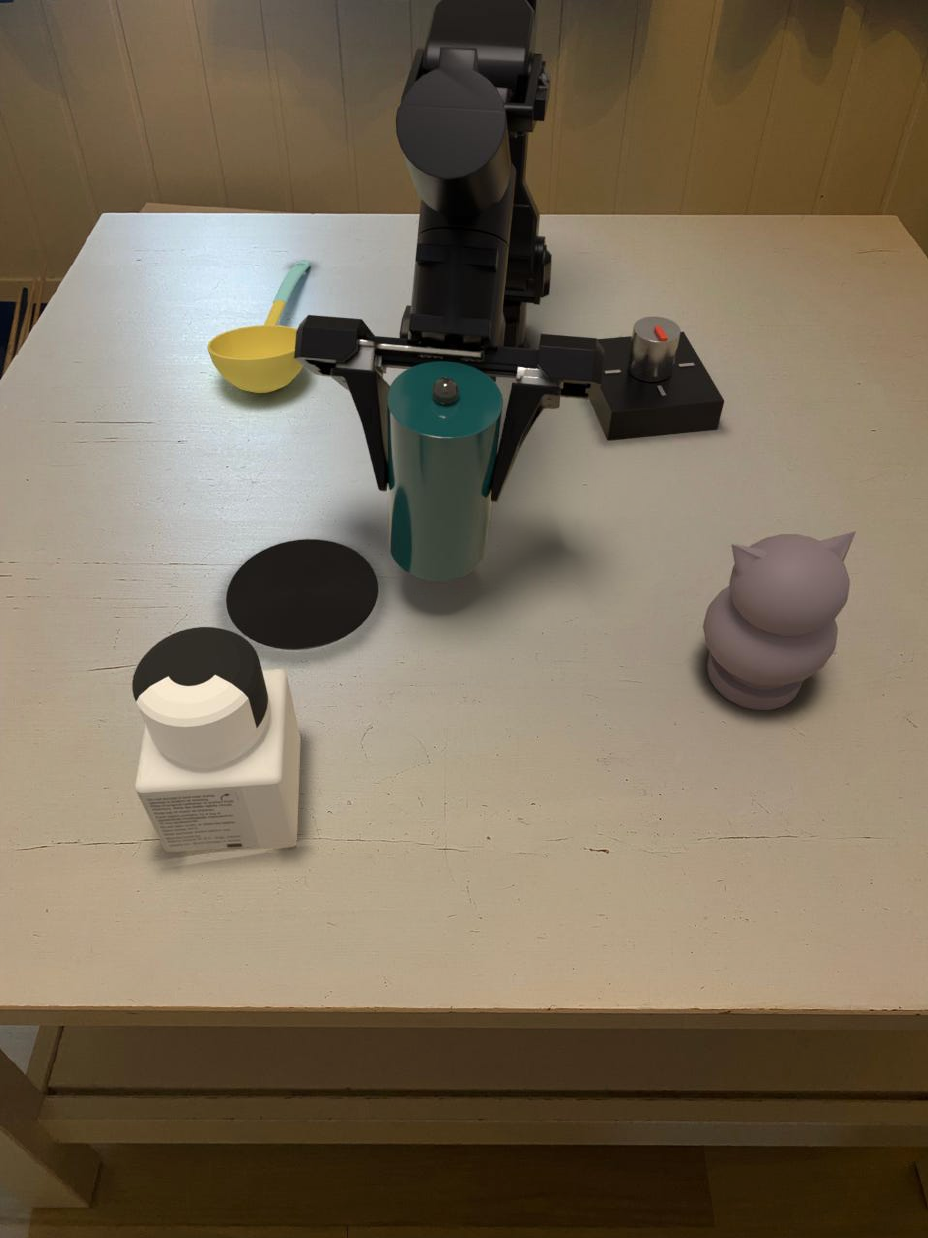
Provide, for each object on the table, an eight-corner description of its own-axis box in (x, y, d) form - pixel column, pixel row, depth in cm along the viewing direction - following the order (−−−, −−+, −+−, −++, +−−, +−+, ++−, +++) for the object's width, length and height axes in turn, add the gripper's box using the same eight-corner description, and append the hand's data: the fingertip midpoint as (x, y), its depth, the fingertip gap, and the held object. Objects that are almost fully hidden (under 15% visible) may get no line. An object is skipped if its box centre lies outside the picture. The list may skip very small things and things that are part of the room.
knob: (621, 358, 85) (628, 315, 81) (664, 354, 85) (672, 311, 82) (634, 384, 82) (642, 340, 79) (678, 379, 83) (687, 336, 79)
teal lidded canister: (374, 523, 66) (368, 358, 55) (461, 497, 68) (474, 332, 57) (412, 593, 63) (415, 433, 51) (502, 564, 65) (525, 402, 53)
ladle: (204, 408, 83) (191, 343, 79) (271, 312, 104) (263, 258, 101) (303, 408, 82) (294, 343, 79) (350, 312, 104) (345, 257, 100)
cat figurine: (711, 728, 62) (755, 605, 53) (675, 637, 67) (710, 511, 58) (834, 712, 63) (898, 589, 54) (790, 624, 68) (841, 498, 59)
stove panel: (576, 368, 89) (579, 338, 87) (678, 358, 90) (684, 329, 88) (607, 440, 82) (612, 410, 79) (717, 429, 83) (725, 399, 81)
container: (180, 748, 60) (128, 613, 51) (302, 740, 61) (273, 605, 51) (165, 858, 55) (104, 732, 46) (298, 849, 56) (265, 722, 46)
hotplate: (227, 554, 72) (225, 547, 71) (370, 539, 73) (370, 531, 73) (228, 666, 65) (226, 658, 64) (387, 646, 66) (386, 638, 66)
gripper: (605, 291, 66) (581, 515, 67) (343, 271, 67) (324, 490, 69) (617, 238, 55) (588, 508, 56) (303, 215, 56) (281, 478, 57)
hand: (438, 496), depth 60 cm, fingers closed on teal lidded canister, 7 cm apart
